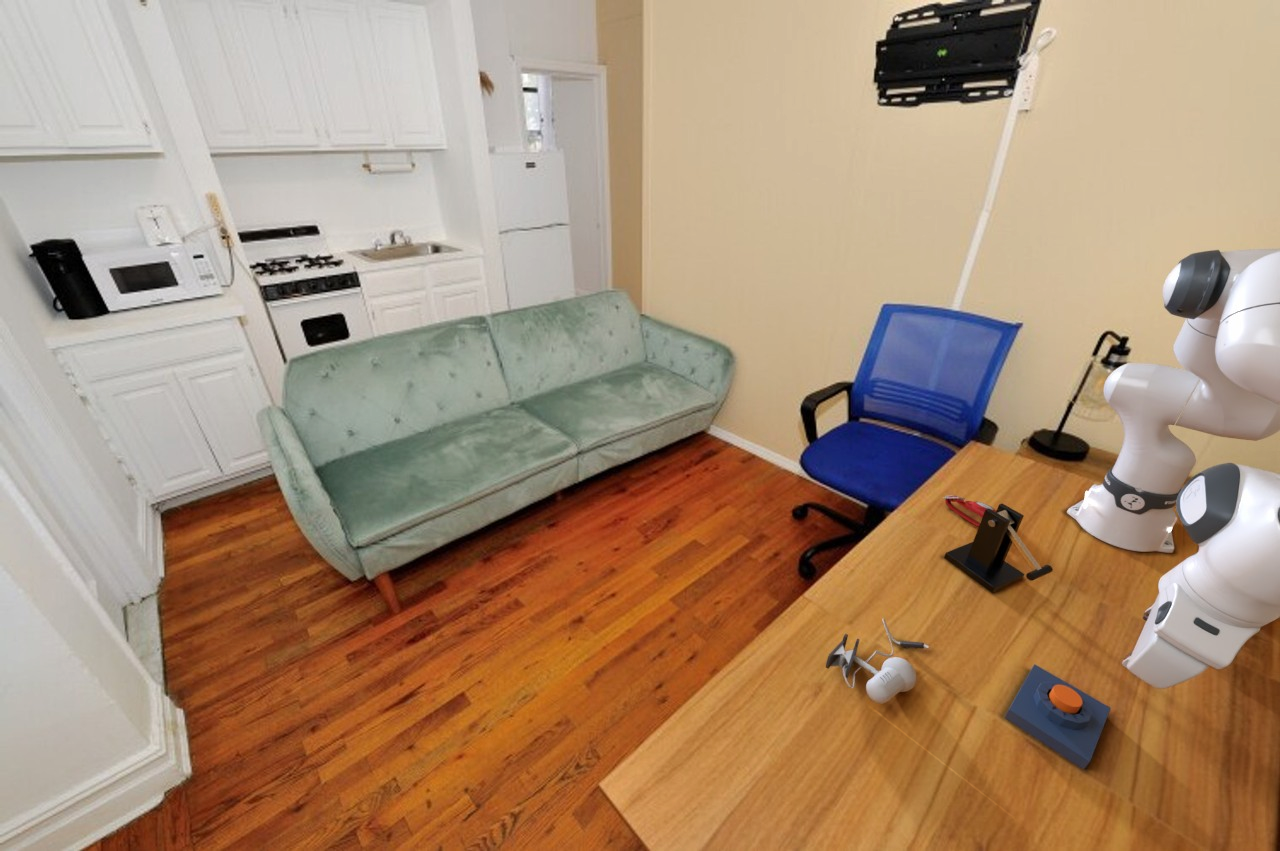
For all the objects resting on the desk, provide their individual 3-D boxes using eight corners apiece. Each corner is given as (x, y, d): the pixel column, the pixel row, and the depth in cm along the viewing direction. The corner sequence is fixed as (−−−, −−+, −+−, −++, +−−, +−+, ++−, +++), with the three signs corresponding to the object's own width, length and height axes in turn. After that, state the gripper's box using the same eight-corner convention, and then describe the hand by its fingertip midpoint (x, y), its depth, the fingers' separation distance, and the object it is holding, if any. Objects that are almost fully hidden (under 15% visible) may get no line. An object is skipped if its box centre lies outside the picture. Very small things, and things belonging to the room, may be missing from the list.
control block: (1029, 672, 85) (1038, 656, 83) (1105, 716, 78) (1115, 700, 76) (1004, 717, 78) (1012, 701, 76) (1083, 770, 72) (1095, 754, 70)
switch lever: (1045, 573, 97) (1056, 570, 95) (1027, 582, 95) (1038, 579, 93) (1001, 511, 103) (1011, 507, 101) (983, 519, 101) (992, 514, 99)
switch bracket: (1022, 579, 103) (1048, 522, 96) (992, 593, 100) (1017, 535, 93) (972, 546, 112) (993, 492, 105) (943, 557, 109) (963, 502, 102)
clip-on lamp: (871, 634, 96) (817, 670, 85) (879, 605, 94) (824, 639, 83) (936, 674, 87) (884, 720, 76) (945, 643, 85) (894, 686, 74)
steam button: (1052, 687, 79) (1056, 680, 78) (1081, 703, 76) (1085, 696, 76) (1045, 701, 77) (1049, 694, 76) (1074, 719, 74) (1079, 711, 74)
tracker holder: (993, 503, 124) (1015, 520, 115) (985, 518, 125) (1006, 536, 116) (944, 487, 125) (961, 503, 116) (936, 503, 127) (953, 520, 117)
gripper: (1200, 531, 68) (1135, 579, 78) (1156, 635, 60) (1089, 675, 69) (1263, 561, 65) (1187, 608, 75) (1225, 677, 56) (1145, 712, 66)
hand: (1139, 641), depth 72 cm, fingers open, 8 cm apart
